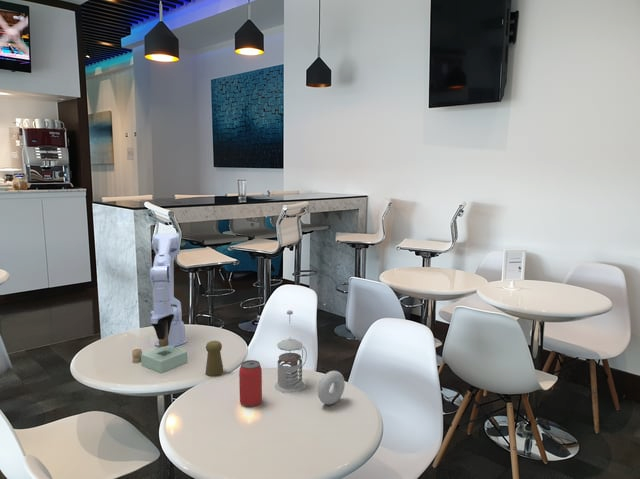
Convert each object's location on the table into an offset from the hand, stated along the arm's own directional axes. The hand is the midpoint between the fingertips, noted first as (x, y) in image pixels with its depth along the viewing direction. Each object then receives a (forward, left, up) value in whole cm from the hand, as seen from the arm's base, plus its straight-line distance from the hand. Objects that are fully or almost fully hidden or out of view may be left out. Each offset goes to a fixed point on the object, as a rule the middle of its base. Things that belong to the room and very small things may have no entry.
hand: (163, 337), depth 164 cm
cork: (-5, +20, -10) cm, 23 cm away
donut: (-10, +64, -10) cm, 66 cm away
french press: (-13, +47, -10) cm, 50 cm away
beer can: (+3, +44, -10) cm, 45 cm away
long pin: (0, 0, -3) cm, 3 cm away
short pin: (+4, -10, -10) cm, 15 cm away
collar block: (0, 0, -10) cm, 10 cm away
